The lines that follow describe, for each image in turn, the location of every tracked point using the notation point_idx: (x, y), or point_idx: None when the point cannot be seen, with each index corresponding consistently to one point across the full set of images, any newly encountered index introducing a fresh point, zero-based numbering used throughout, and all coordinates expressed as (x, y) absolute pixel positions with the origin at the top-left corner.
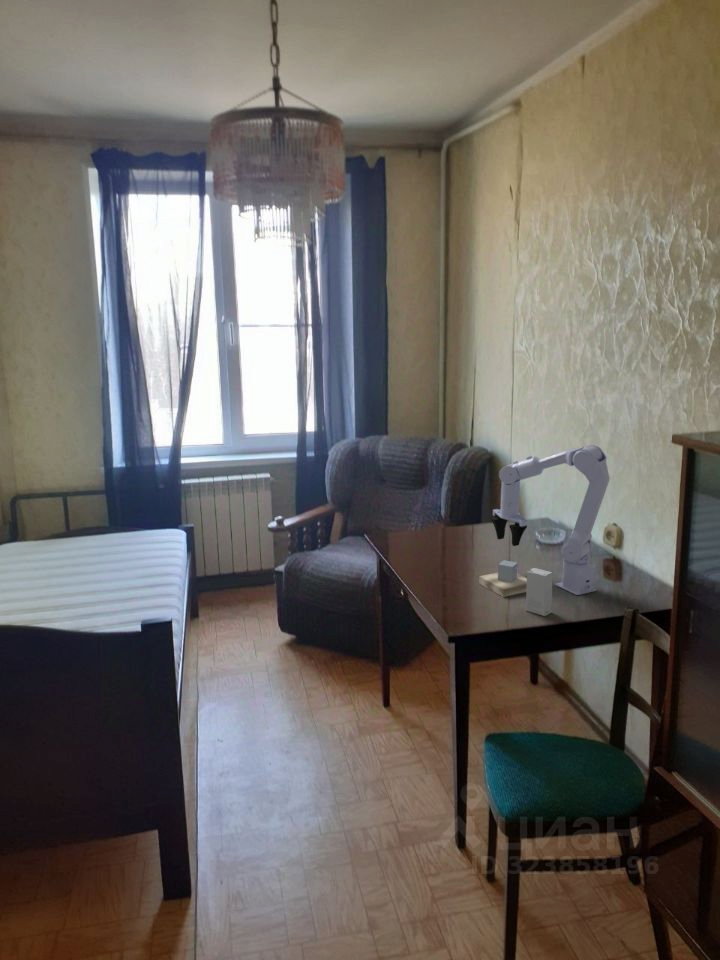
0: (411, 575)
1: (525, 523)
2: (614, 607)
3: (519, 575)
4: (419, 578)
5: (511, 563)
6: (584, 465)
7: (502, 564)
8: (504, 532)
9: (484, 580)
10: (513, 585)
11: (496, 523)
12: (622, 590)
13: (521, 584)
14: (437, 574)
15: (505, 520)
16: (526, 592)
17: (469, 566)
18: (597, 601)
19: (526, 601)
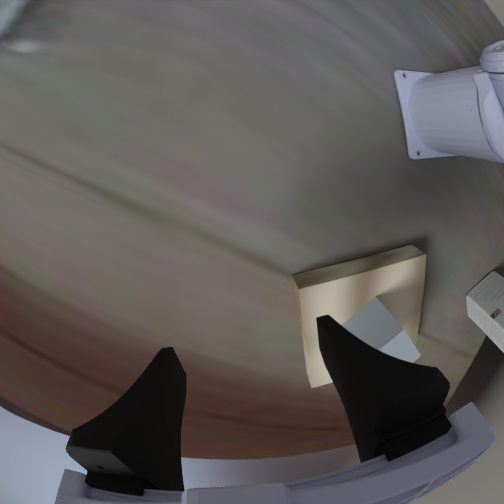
0: (207, 452)
1: (479, 422)
2: None
3: (361, 277)
4: (228, 447)
5: (397, 351)
6: None
7: None
8: (159, 370)
9: None
10: (411, 324)
11: (179, 473)
12: (458, 21)
13: (418, 301)
14: (210, 424)
15: (135, 444)
16: (491, 339)
17: (156, 351)
18: None
19: (479, 326)
